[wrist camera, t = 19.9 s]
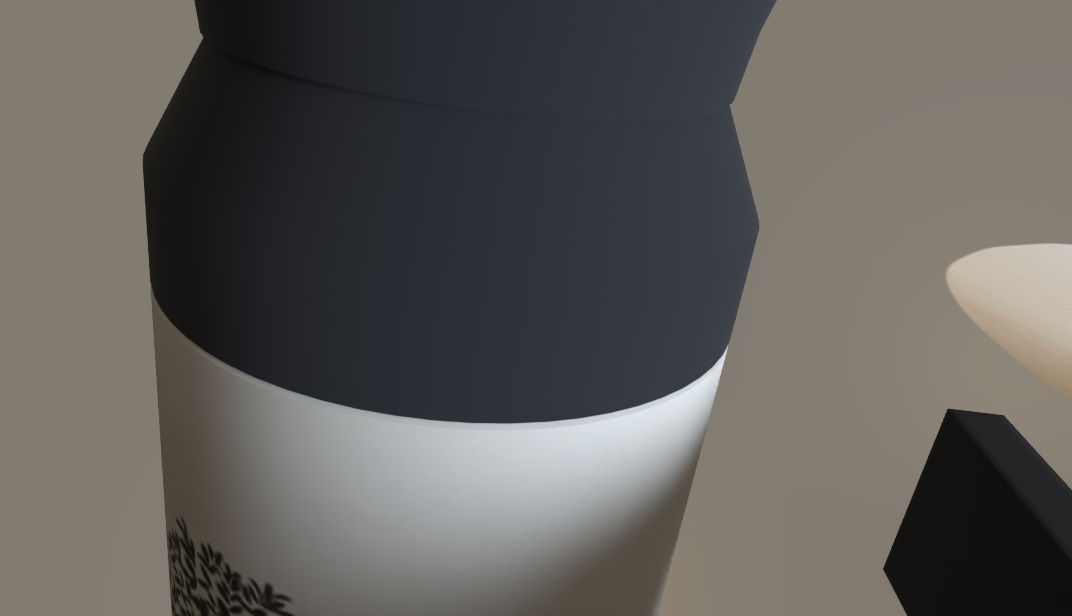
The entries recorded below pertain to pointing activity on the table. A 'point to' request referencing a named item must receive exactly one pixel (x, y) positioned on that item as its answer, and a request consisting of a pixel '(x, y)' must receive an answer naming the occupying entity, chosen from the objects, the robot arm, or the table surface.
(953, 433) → the robot arm
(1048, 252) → the table surface
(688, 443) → the travel mug
